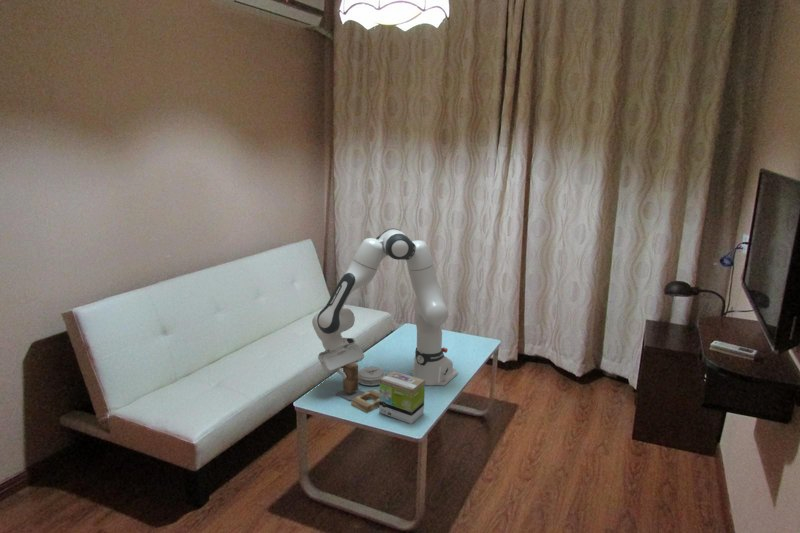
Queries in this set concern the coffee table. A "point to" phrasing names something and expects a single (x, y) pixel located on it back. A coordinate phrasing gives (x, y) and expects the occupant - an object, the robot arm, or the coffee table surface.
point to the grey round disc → (370, 375)
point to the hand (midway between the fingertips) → (351, 375)
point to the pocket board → (363, 404)
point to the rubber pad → (349, 394)
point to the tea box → (402, 396)
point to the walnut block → (350, 377)
